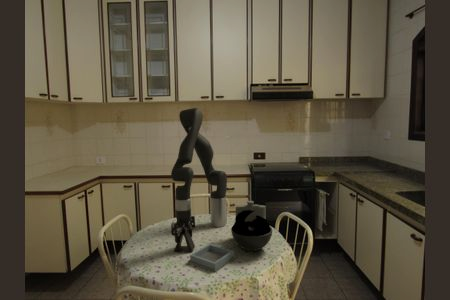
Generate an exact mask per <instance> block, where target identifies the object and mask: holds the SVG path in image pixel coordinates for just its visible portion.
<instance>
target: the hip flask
mask: <svg viewBox="0 0 450 300" xmlns="http://www.w3.org/2000/svg"><path fill="white" fill-rule="evenodd" d="M246 203H247V204H240V205H237V204H236V205H235V217H236V216H237V215H238V213H241V212H242V211H245V210H251V211H254V212H252V213H251V214H249V215H248V216H247V218H246V219H245V222H247V221H250V222H252V221H253V220H254V219H256V216H260V217H262V218H265V219H266V217H267V216H266V210H267V209H266V205H261V204H254V203H255V202H254V201H253V200H246ZM266 220H267V219H266Z"/></svg>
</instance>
